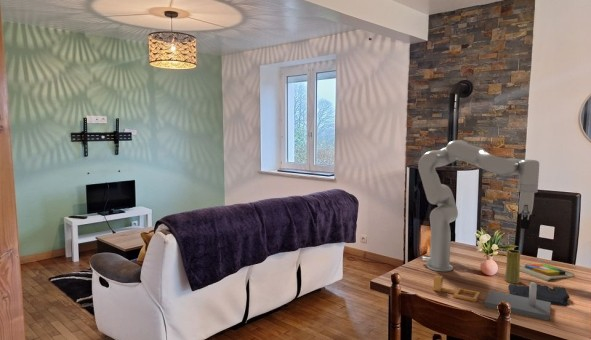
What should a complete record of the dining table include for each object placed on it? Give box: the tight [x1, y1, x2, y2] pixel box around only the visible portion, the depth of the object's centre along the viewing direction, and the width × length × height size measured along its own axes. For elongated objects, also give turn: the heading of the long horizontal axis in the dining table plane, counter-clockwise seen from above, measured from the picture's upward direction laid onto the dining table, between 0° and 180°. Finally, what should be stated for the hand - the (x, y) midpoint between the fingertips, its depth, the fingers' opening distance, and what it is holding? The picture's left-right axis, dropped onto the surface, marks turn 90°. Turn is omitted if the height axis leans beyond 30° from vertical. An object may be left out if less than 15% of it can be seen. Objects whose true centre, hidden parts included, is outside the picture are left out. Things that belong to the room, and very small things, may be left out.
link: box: [433, 274, 481, 303], centre depth 176 cm, size 18×9×6 cm, turn 56°
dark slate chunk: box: [508, 283, 571, 307], centre depth 173 cm, size 15×22×5 cm
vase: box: [504, 249, 521, 284], centre depth 190 cm, size 6×6×14 cm
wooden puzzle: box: [520, 263, 575, 282], centre depth 201 cm, size 18×19×4 cm
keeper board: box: [483, 281, 552, 322], centre depth 162 cm, size 22×14×11 cm, turn 56°
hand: (525, 226), depth 180 cm, fingers open, 9 cm apart
